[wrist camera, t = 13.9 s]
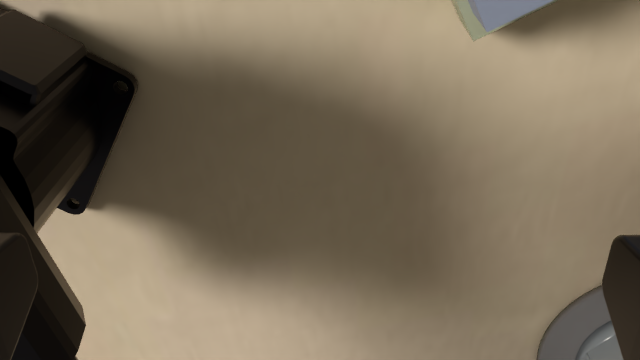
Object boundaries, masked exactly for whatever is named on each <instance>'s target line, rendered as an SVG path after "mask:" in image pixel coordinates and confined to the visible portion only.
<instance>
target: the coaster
mask: <svg viewBox="0 0 640 360" xmlns="http://www.w3.org/2000/svg"><path fill="white" fill-rule="evenodd" d="M609 321H611V318H610V315H609V312H608V308H607V305H606V302H605V299H604V295H603V290H602V286H600V287H597V288H595V289H593V290H591V291H589V292H588V293H586V294H584V295H582V296H581V297H579V298H578V299H577V300H575V301H574V302H572V303H571V304H570V305H568V306H567V307H566V308H565V309H564V310H563V311H562V312H561V313H560V314H559V315H558V316H557V317H556V318H555V319H554V320H553V322H552V323H551V324H550V326H549V327H548V329H547V330H546V332H545V334H544V336H543V338H542V340H541V342H540V346H539V349H538V355H537V360H575V358H576V355H577V352H578V350H579V348H580V346H581V345H582V344H583V342H584V341H585V340H586V339H587V337H588V336H589V335H590V334H591V333H593V332H594V331H595V330H596V329H598V328H599V327H600V326H602V325H603V324H605V323H607V322H609Z"/></svg>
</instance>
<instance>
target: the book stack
mask: <svg viewBox="0 0 640 360" xmlns="http://www.w3.org/2000/svg"><path fill="white" fill-rule="evenodd" d="M556 1H558V0H452V2H453V5H454V7H455V9H456V12H457V14H458V16H459V19H460V21H461V22H462V24H463V26H464V27H465V29H466V30H467V32H468V34H469V35H470V37H471V38H472V40H473V41H475V40H477V39H480V38H482V37H484V36H486V35H488V34H490V33H492V32H494V31H496V30H498V29H500V28H502V27H504V26H506V25H509V24H511V23H513V22H515V21H517V20H519V19H521V18H523V17H525V16H527V15H529V14H531V13H533V12H535V11H538V10H540V9H542V8H544V7H546V6H548V5H550V4H552V3H554V2H556Z"/></svg>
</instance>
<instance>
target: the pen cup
mask: <svg viewBox="0 0 640 360" xmlns="http://www.w3.org/2000/svg"><path fill="white" fill-rule="evenodd" d="M575 360H623V357H622V354H621V351H620V347H619V344H618V341H617V338H616V334H615V331H614V328H613V325H612V321H609V322H607V323H605V324H603V325H602V326H600V327H599V328H598V329H596V330H595V331H594V332H593V333H591V334H590V335H589V336H588V337H587V339H586V340H585V341H584V342H583V344H582V345H581V346H580V348H579V350H578V352H577V355H576V358H575Z"/></svg>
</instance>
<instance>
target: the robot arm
mask: <svg viewBox="0 0 640 360" xmlns="http://www.w3.org/2000/svg"><path fill="white" fill-rule="evenodd" d="M117 81H122V82H124V83H125V84H126V85H127V87H128V90H126V91H125V90H121V89H120V88H119V87H118V85H117ZM137 88H138V83H137V80H136V78H135V77H134V75H132V74H131V73H129V72H128V71H126V70H124V69H122V68H120V67H118V66H116V65H114V64H112V63H110V62H108V61H106V60H104V59H102V58H100V57H98V56H96V55H94V54H91V53H89V52H88V51H87V50H86V48H85V47H84V45H83V44H82V43H80V42H78V41H76V40H74V39H72V38H70V37H68V36H66V35H64V34H62V33H60V32H58V31H56V30H54V29H52V28H50V27H48V26H46V25H44V24H42V23H40V22H38V21H36V20H34V19H32V18H30V17H28V16H26V15H24V14H22V13H20V12H18V11H16V10H11V11H8V12H7V11H5V10H3V9H1V8H0V360H78V359H77V357H76V356H75V355H76V354H77V352H78V349H79V346H80V343H81V339H82V336H83V333H84V330H85V326H86V324H85V318H84V313H83V308H82V305H81V304H80V302H79V301H78V299H77V297H76V296H75V294H74V293H73V291H72V289H71V288H70V286H69V285H68V283H67V281H66V280H65V278H64V276H63V275H62V273H61V272H60V270H59V268H58V267H57V265H56V264H55V262H54V260H53V259H52V257H51V256H50V254H49V252H48V251H47V249H46V247H45V246H44V244H43V243H42V241H41V239H40V238H39V236H38V235H37V233H38V232H39V230H40V229H41V228H42V226H43V225H44V224H45V222H46V221H47V220H48V218H49V217H50V216H51V214H52V213H53V212H54V210H55V209H56V208H59V209H61V210H63V211H65V212H68V213H71V214H81V213H83V212H84V210H85V209H86V208H87V206H88V205H89V203H90V201H91V198H92V196H93V193H94V191H95V189H96V186H97V184H98V182H99V179H100V177H101V175H102V172H103V170H104V167H105V165H106V163H107V160H108V158H109V156H110V153H111V151H112V149H113V146H114V144H115V141H116V139H117V137H118V134H119V132H120V130H121V127H122V125H123V123H124V120H125V118H126V115H127V113H128V111H129V108H130V106H131V104H132V101H133V99H134V97H135V94H136V92H137ZM71 198H74V199H76V200H77V201H78V202H79V203H80V204H76V203H74V202H72V200H71ZM602 290H603V295H604V299H605V302H606V305H607V308H608V312H609V315H610V318H611V321H612V325H613V328H614V331H615V334H616V338H617V341H618V344H619V347H620V351H621V354H622V357H623V360H640V235H619V236H617V237H616V238H615V239H614V240H613V242H612V245H611V249H610V253H609V256H608V260H607V264H606V268H605V272H604V275H603V280H602Z"/></svg>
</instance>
